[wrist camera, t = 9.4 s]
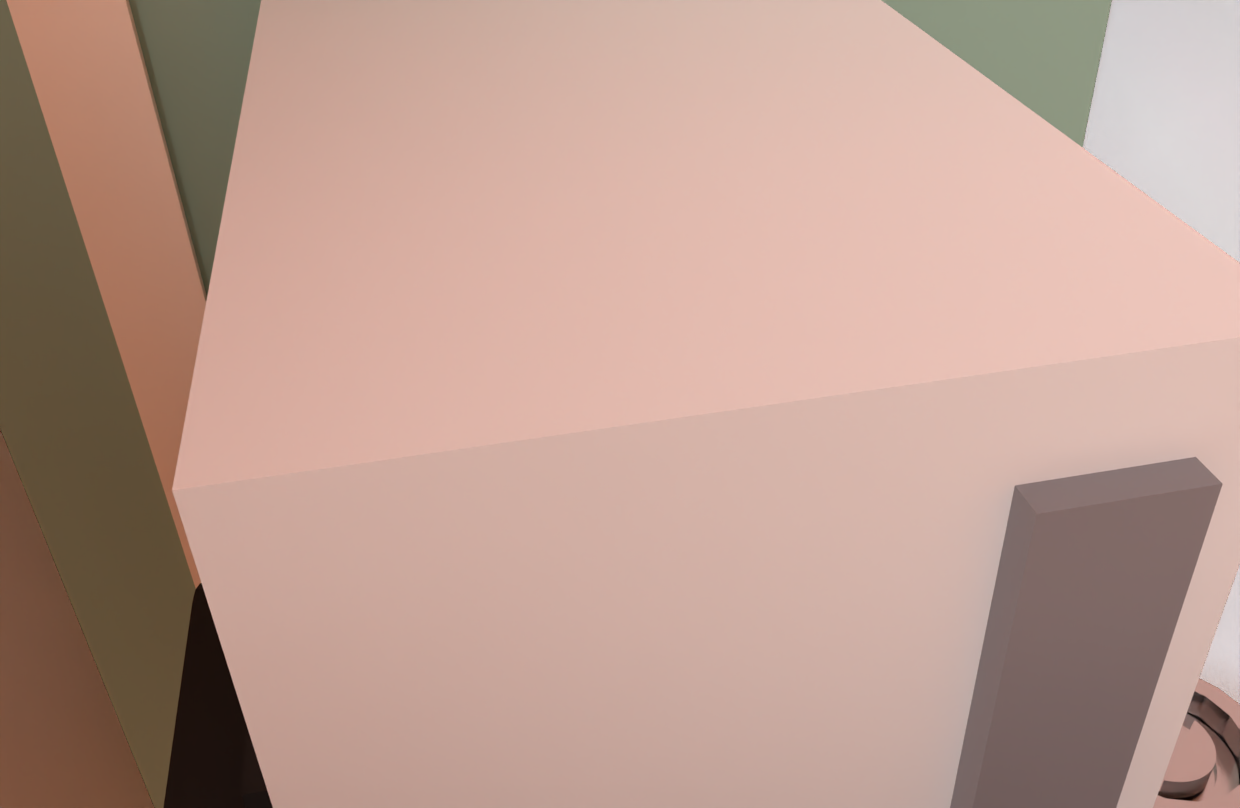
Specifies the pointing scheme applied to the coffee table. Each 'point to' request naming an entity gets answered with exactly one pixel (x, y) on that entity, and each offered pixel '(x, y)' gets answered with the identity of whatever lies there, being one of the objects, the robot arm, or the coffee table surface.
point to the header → (181, 271)
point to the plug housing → (698, 419)
